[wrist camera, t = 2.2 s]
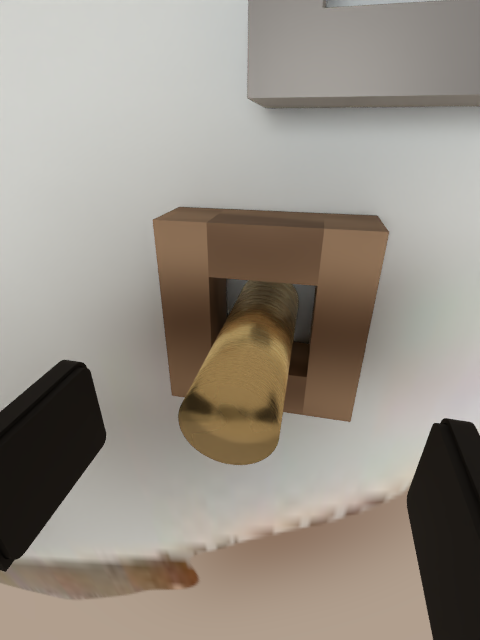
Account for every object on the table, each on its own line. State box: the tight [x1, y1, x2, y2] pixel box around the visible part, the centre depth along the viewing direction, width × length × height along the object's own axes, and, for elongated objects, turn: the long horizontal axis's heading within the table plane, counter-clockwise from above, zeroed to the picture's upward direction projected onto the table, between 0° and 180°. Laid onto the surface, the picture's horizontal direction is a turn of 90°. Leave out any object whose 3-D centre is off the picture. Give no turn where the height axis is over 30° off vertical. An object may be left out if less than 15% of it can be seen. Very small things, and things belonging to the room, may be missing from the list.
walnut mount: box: [153, 207, 389, 422], centre depth 17 cm, size 9×9×3 cm
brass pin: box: [178, 280, 299, 465], centre depth 14 cm, size 3×3×9 cm
